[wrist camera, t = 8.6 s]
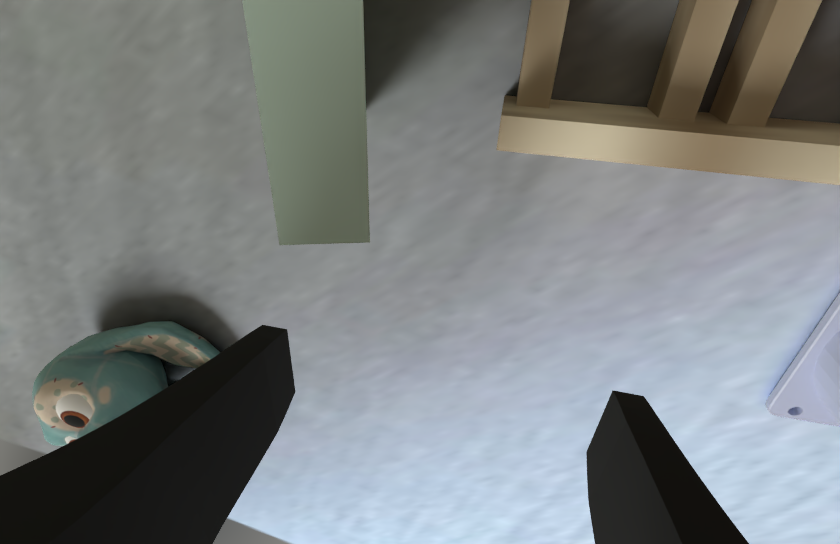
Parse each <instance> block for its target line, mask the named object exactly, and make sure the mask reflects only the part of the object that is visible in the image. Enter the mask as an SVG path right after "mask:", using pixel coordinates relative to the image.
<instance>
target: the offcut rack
mask: <svg viewBox="0 0 840 544" xmlns="http://www.w3.org/2000/svg"><path fill="white" fill-rule="evenodd" d="M738 1H739V0H680V1H679V4H678V7H677V10H676V14H675V17H674V20H673V23H672V27H671V30H670V33H669V36H668V40H667V43H666V46H665V49H664V53H663V56H662V59H661V62H660V66H659V69H658V72H657V75H656V79H655V82H654V85H653V88H652V92H651V95H650V98H649V101H648V105H647V107H637V106H625V105H613V104H601V103H589V102H578V101H566V100H554V99H551V95H552V90H553V85H554V80H555V75H556V70H557V64H558V59H559V54H560V49H561V44H562V39H563V34H564V28H565V23H566V18H567V13H568V8H569V3H570V0H531V6H530V13H529V19H528V26H527V32H526V39H525V45H524V52H523V58H522V65H521V71H520V78H519V85H518V91H517V96H506V95H505V97H504V103H503V109H502V115H501V122H500V129H499V136H498V144H497V150H500V151H510V152H519V153H529V154H539V155H549V156H559V157H569V158H579V159H588V160H598V161H608V162H618V163H628V164H638V165H647V166H657V167H667V168H677V169H687V170H697V171H706V172H716V173H726V174H736V175H746V176H756V177H766V178H775V179H785V180H795V181H805V182H815V183H825V184H834V185H840V124H838V123H826V122H815V121H803V120H791V119H779V118H769V116H770V114H771V111H772V109H773V107H774V105H775V103H776V100H777V98H778V96H779V94H780V92H781V89H782V87H783V85H784V83H785V81H786V78H787V76H788V74H789V72H790V70H791V68H792V65H793V63H794V61H795V59H796V57H797V54H798V52H799V50H800V48H801V46H802V43H803V41H804V39H805V37H806V35H807V32H808V30H809V28H810V26H811V24H812V21H813V19H814V17H815V15H816V13H817V10H818V8H819V6H820V4H821V2H822V0H752V2H751V4H750V7H749V9H748V12H747V15H746V17H745V20H744V22H743V25H742V28H741V30H740V33H739V36H738V38H737V41H736V43H735V46H734V49H733V51H732V54H731V56H730V59H729V62H728V64H727V67H726V70H725V72H724V75H723V77H722V80H721V83H720V85H719V88H718V90H717V93H716V96H715V98H714V101H713V103H712V106H711V109H710V111H709V113H708V112H698V110H699V107H700V104H701V101H702V99H703V96H704V93H705V91H706V88H707V85H708V83H709V80H710V77H711V74H712V72H713V69H714V66H715V64H716V61H717V58H718V55H719V53H720V50H721V47H722V45H723V42H724V39H725V36H726V34H727V31H728V28H729V26H730V23H731V20H732V17H733V15H734V12H735V9H736V7H737V4H738Z"/></svg>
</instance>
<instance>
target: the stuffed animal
mask: <svg viewBox="0 0 840 544" xmlns="http://www.w3.org/2000/svg"><path fill="white" fill-rule="evenodd" d="M219 353H220V352H219V351H218V350H217V349H216V348H215V347H214V346H213V345H212V344H210V343H209V342H208V341H207V340H206V339H205V338H204V337H202V336H200V335H198V334H196V333H194V332H192V331H190V330H188V329H186V328H185V327H183V326H181V325H179V324H177V323H175V322H173V321H163V322H147V323H143V324H140V325H134V326H127V327H120V328H114V329H111V330H107V331H104V332H101V333H98V334H94V335H91V336H88V337H86V338H85V339H83V340H81V341H80V342H78V343H76V344H75V345H73V346H71V347H69V348H68V349H66V350H65V351H63V352H62V353H61V354H59V355H58V356H57V357H55V358H54V359H53V360H52V361H51V362H50V363H48V364H47V365H46V366H45V367H44V369H43V370H42V371H41V372H40V373H39V374H38V376H37V378H36V380H35V382H34V386H33V392H32V395H33V406H34V409H35V412H36V414H37V417H38V419H39V422H40V424H41V426H42V429H43V434H44V437H45V440H46V441H47V442H49V443H50V444H52V445H58V446H65V445H66V444H68V443H70V442H72V441H74V440H76V439H78V438H80V437H82V436H84V435H86V434H88V433H90V432H92V431H93V430H95V429H97V428H99V427H101V426H103V425H104V424H106V423H108V422H110V421H112V420H114V419H115V418H117V417H119V416H121V415H122V414H124V413H126V412H127V411H129V410H131V409H132V408H134V407H136V406H137V405H139V404H141V403H142V402H144V401H146V400H147V399H149V398H151V397H152V396H154V395H156V394H157V393H159V392H161V391H162V390H164V389H166V388H167V387H169V386H168V384H167V378H166V373H165V370H164V367H163V365H162V362H161V360H160V359H163V360H165V361H167V362H169V363H172V364H174V365H176V366H184V367H191V368H198V367H200V366H201V365H203V364H204V363H206V362H207V361H209V360H210V359H212V358H213V357H215V356H216V355H218V354H219Z"/></svg>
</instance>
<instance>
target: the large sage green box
mask: <svg viewBox="0 0 840 544" xmlns="http://www.w3.org/2000/svg"><path fill="white" fill-rule="evenodd" d="M242 2H243V9H244V15H245V22H246V28H247V35H248V41H249V48H250V55H251V61H252V68H253V74H254V81H255V87H256V94H257V100H258V107H259V113H260V120H261V126H262V133H263V140H264V146H265V153H266V159H267V166H268V172H269V179H270V185H271V192H272V198H273V205H274V211H275V218H276V225H277V231H278V238H279V244H280V245H297V244H331V243H365V242H370V232H369V197H368V161H367V125H366V89H365V53H364V17H363V0H242Z"/></svg>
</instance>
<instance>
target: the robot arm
mask: <svg viewBox="0 0 840 544" xmlns="http://www.w3.org/2000/svg"><path fill="white" fill-rule="evenodd" d="M294 394H295V386H294V379H293V371H292V363H291V356H290V348H289V341H288V333H287V329H282V328H276V327H271V326H266V325H262V326H260V327H258V328H257V329H255V330H254V331H252V332H251V333H249V334H248V335H246V336H245V337H243V338H242V339H240V340H239V341H237V342H236V343H234V344H233V345H231V346H230V347H228V348H227V349H225V350H224V351H222V352H221V353H219V354H218V355H216V356H215V357H213V358H212V359H210V360H209V361H207V362H206V363H204V364H203V365H201V366H200V367H198V368H197V369H195V370H194V371H192V372H191V373H189V374H188V375H186V376H185V377H183V378H182V379H180V380H178V381H177V382H175V383H174V384H172V385H170V386H169V387H167V388H166V389H164V390H162V391H161V392H159V393H157V394H156V395H154V396H152V397H151V398H149V399H147V400H146V401H144V402H142V403H141V404H139V405H137V406H136V407H134V408H132V409H131V410H129V411H127V412H126V413H124V414H122V415H121V416H119V417H117V418H115V419H114V420H112V421H110V422H108V423H106V424H104V425H103V426H101V427H99V428H97V429H95V430H93V431H92V432H90V433H88V434H86V435H84V436H82V437H80V438H78V439H76V440H74V441H72V442H70V443H68V444H66V445H65V446H63V447H61V448H59V449H57V450H55V451H53V452H51V453H49V454H46V455H44V456H42V457H40V458H38V459H36V460H33V461H31V462H29V463H27V464H25V465H23V466H21V467H18V468H16V469H14V470H12V471H10V472H8V473H5V474H3V475H1V476H0V544H213V542H214V540H215V538H216V536H217V534H218V533H219V531H220V529H221V527H222V525H223V524H224V522H225V520H226V519H227V517H228V515H229V513H230V512H231V510H232V508H233V507H234V505H235V503H236V502H237V500H238V498H239V497H240V495H241V493H242V492H243V490H244V488H245V487H246V485H247V483H248V482H249V480H250V478H251V477H252V475H253V473H254V472H255V470H256V468H257V467H258V465H259V463H260V461H261V460H262V458H263V456H264V455H265V453H266V451H267V450H268V448H269V446H270V444H271V443H272V441H273V439H274V437H275V436H276V434H277V432H278V430H279V428H280V426H281V423H282V421H283V419H284V417H285V415H286V412H287V410H288V408H289V405H290V403H291V401H292V398H293V396H294ZM765 405H766V408H767V409H768V411H769V412H770V413H771V414H772V415H775V416H780V417H785V418H791V419H797V420H803V421H809V422H815V423H821V424H827V425H833V426H839V427H840V293H839V294H838V296H837V297H836V299H835V300H834V302H833V303H832V305H831V306H830V308H829V309H828V311H827V312H826V314H825V315H824V316H823V318H822V319H821V321H820V322H819V324H818V325H817V327H816V328H815V330H814V331H813V333H812V334H811V336H810V337H809V338H808V340H807V341H806V343H805V344H804V346H803V347H802V349H801V350H800V352H799V353H798V355H797V356H796V358H795V359H794V361H793V362H792V363H791V365H790V366H789V368H788V369H787V371H786V372H785V374H784V375H783V377H782V378H781V380H780V381H779V383H778V384H777V386H776V387H775V388H774V390H773V391H772V393H771V394H770V396H769V397H768V399H767V400H766V403H765ZM793 407H794V408H793ZM587 480H588V498H589V507H590V514H591V520H592V526H593V533H594V539H595V544H749V543H748V542H747V541H746V539H745V538H744V537H743V535H742V534H741V533H740V532H739V530H738V529H737V528H736V526H735V525H734V524H733V522H732V521H731V520H730V518H729V517H728V516H727V514H726V513H725V512H724V510H723V509H722V508H721V506H720V505H719V504H718V502H717V501H716V499H715V498H714V497H713V495H712V494H711V493H710V491H709V490H708V488H707V487H706V486H705V484H704V483H703V482H702V480H701V479H700V477H699V476H698V475H697V473H696V472H695V470H694V469H693V468H692V466H691V465H690V463H689V462H688V460H687V459H686V457H685V456H684V455H683V453H682V452H681V450H680V449H679V447H678V446H677V444H676V443H675V441H674V440H673V438H672V437H671V436H670V434H669V433H668V431H667V430H666V428H665V427H664V425H663V424H662V422H661V421H660V419H659V418H658V416H657V415H656V413H655V412H654V410H653V409H652V407H651V406H650V405H649V403H648V402H647V400H646V399H645V397H644V396H639V395H634V394H629V393H623V392H618V391H612V394H611V396H610V398H609V401H608V403H607V405H606V408H605V410H604V412H603V415H602V417H601V420H600V422H599V424H598V427H597V429H596V431H595V434H594V436H593V438H592V441H591V443H590V445H589V448H588V450H587Z"/></svg>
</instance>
